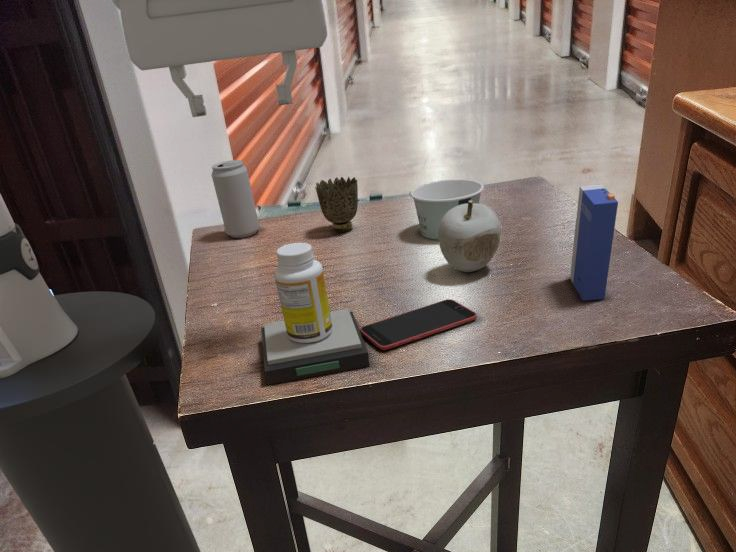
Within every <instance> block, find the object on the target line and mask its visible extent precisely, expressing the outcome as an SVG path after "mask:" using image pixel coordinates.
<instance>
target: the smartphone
mask: <svg viewBox="0 0 736 552" xmlns="http://www.w3.org/2000/svg"><path fill="white" fill-rule="evenodd" d="M477 317H478V314H477V313H476V312H475V311H473V310H471V309H470V308H468V307H466V306H464V305H463V304H461V303H460V302H457V301H456V300H454V299H449V298H448V299H444V300H441V301H437V302H434V303H431V304H429V305H425V306H422V307H419V308H415V309H413V310H410V311H407V312H404V313H401V314H398V315H394V316H391V317H388V318H385V319H381V320H379V321H376V322H372V323H369V324H367V325H363V326H361V327H359V330H360V333H361V336H362V337H364V338H365V339H366V340H367V341H369V342H370V343H371V344H373V345H374V346H375V347H376V348H378V349H379V350H381V351H387V350H391V349H393V348H396V347H399V346H402V345H404V344H405V345H406V344H408V343H411V342H413V341H416V340H419V339H423V338H426V337H428V336H431V335H435V334H437V333H441V332H443V331H446V330H449V329H451V328H455V327H457V326H461V325H463V324H466V323H470V322H473V321H475V320H477Z"/></svg>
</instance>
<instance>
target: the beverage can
mask: <svg viewBox="0 0 736 552" xmlns="http://www.w3.org/2000/svg"><path fill="white" fill-rule="evenodd" d="M211 169H212V171H211V179H212V182H213V186H214V191H215V195H216V200H217V202H218V206H219V211H220V214H221V218H222V222H223V227H224V229H225V233H226V234H227V235H228V236H230V238H234V239H242V238H249V237H251V236H254V235H256V234H257V232H258V231H259V230H260V222H259V218H258V212H257V208H256V204H255V200H254V195H253V190H252V185H251V181H250V177H249V172H248V168H247V167H246V166H245V165H244V161H243V160H240V159H233V160H224V161H221V162H217V163H215V164H213V165H212V166H211Z"/></svg>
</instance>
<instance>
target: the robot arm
mask: <svg viewBox="0 0 736 552" xmlns="http://www.w3.org/2000/svg"><path fill="white" fill-rule="evenodd" d="M111 1H112V3H113V4H114V5H115V7H116V8H117V9H118V10H119V11H120V18H121V19H120V20H121V25H122V31H123V36H124V41H125V45H126V48H127V52H128V55H129V56H128V57H129V59H130V61H131V63H132V64H133V65H134V66H135V67H136V68H138V69H139V70H140V71H149V70H158V69H166V68H168V69H169V73H170V78H171V80H172V82H173V84H174V85H175V86H176V88H178V90H179V91H180V92H181V93H182V95H183V96H184V97H185V98H186V99H187V101H188V105H189V109H190V113H191V116H192V118H198V117H204V116H205V117H206V116H207V108H206V105H204V103H205V100H204V97H203V94H195V93H194V92H193V90H192V89H191V88H190V86H189V85H188V84H187V83H186V82H185V81H186V80H185V79H186V77H187V75H188V74H187V71H186V67H185V66H187V65H188V66H189V65H194V64H195V65H196V64H205V63H210V62H212V63H213V62H218V61H226V60H234V59H242V58H248V57H249V58H250V57H258V56H264V55H265V56H266V55H271V54H279V53H280V54H281V59H282V63H283V65H284V66H287V68H286V71H285V75H284V78H283V81H282V83H278V84H275V89H276V93H277V100H278V105H279V106H286V105H287V106H288V105H292V104H293V96H292V89H291V85H292V82H293V78H294V75H295V72H296V69H297V66H298V61H297V54H296V53H297V52H296V51H302V50H311V49H317V48H318V49H319V48H322V47H323V46H324V44H325V42H326V39H327V38H328V28H327V21H326V20H327V19H326V14H325V9H324V8H325V7H324V3H323V0H111ZM54 295H55V294H54V293H53V291H52V289H50V288H49V286H48V285H47V283H46V281H45V279H44V278H43V276H42V275H41V272H40V267H39V264H38V261H37V257H36V255H35V254H34V250H33V248H32V246H31V244H30V242H29V240H28V239H27V238H26V236H25V234H24V232H23V230H22V228H21V226H20V225H19V224H18V223H16V222H14V219H13V217H12V215H11V214H10V210H9V209H8V207H7V205H6V201H5V200H4V198H3V196H2V194H1V193H0V378H5V377H8V376H11V375H13V374H15V373H17V372H18V371H20V370H21V369H23V368H25V367H26V366H28V365H30V364H32V363H34V362H36V361H39V360H41V359H43V358H45V357H48V356H50V355H52V354H54V353H55V352H57V351H59V350H61V349H62V348H64V347H65V346H66V345H68V344H69V343H70V342H71V341H72V340H73V339H74V338H75V337H76V335H77V333H78V327H77V326H76V325H75V324H74V322H73V321H72V320H71V319H70V318H69V317H68V315H67V314H66V313H65V311H64V310H63V309H62V307H61V306H60V305H59V303H58V302H57V300H56V299H55V297H54Z"/></svg>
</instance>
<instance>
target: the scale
mask: <svg viewBox="0 0 736 552" xmlns="http://www.w3.org/2000/svg"><path fill="white" fill-rule="evenodd" d="M330 315H331V321H332V331H331V333H330V334H329V335H328V336H327V337H325V338H324V339H322V340H319V341H316V342H311V343H299V342H295V341H293V340H291V339H290V338H289V337H288V334H287V331H286V326H285V322H284V319H282V320H276V321H273V322H272V321H271V322H265V323H263V327H261V328H260V333H261V343H262V345H261V346H262V356H263V365H264V366H263V367H264V375H265V378H266V383H267V385H268V386H271V385H275V384H276V385H277V384H282V383H287V382H291V381H298V380H303V379H307V378H313V377H318V376H324V375H330V374H335V373H340V372H346V371H352V370H356V369H361V368H366V367H370V366H371V365H370V359H369V358H370V357H369V352H368V349H367V347H366V344H365V341H364V339H363V335H362V334H361V333H360V327H359V325H358V322H357V320H356V316H355V314H354V312H353V311H350V309H349V308H343V309H339V310H338V309H337V310H333V311H330Z"/></svg>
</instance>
